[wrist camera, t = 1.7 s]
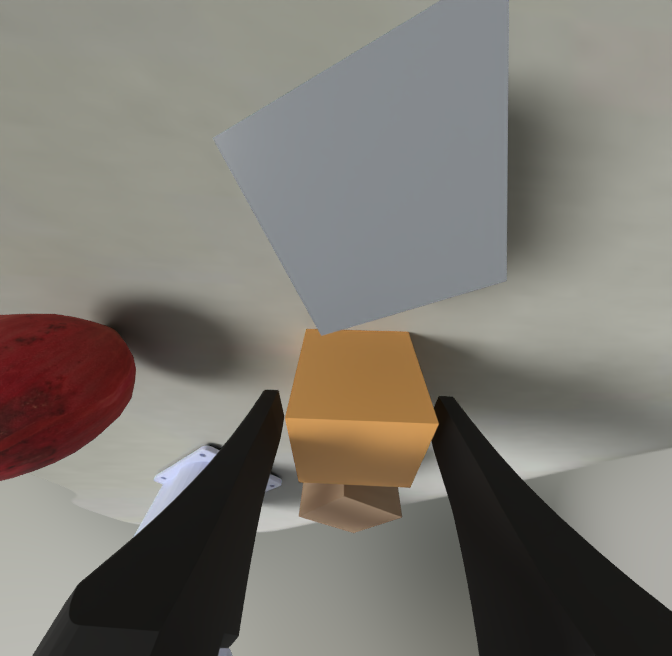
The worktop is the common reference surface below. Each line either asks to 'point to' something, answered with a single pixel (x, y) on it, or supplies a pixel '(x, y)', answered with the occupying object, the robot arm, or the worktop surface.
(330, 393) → the orange block
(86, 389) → the onion
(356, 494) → the walnut block
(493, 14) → the slate block
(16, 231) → the worktop surface
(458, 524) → the robot arm
